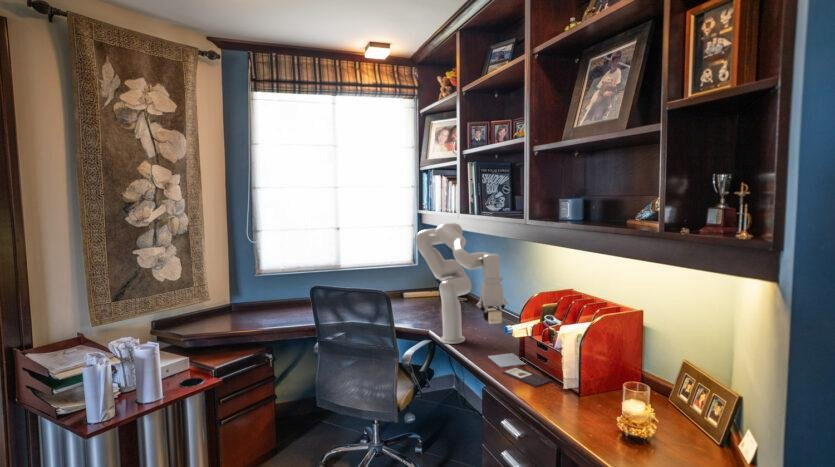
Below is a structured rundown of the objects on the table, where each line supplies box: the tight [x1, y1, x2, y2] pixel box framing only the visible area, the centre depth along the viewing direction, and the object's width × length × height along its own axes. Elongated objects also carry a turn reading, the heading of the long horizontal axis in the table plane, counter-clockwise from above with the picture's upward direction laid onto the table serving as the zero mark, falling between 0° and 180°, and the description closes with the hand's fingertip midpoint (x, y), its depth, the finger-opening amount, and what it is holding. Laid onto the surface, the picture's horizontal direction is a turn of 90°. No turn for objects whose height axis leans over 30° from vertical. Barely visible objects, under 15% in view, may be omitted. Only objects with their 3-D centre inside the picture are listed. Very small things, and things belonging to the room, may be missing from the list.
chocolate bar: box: [501, 366, 554, 389], centre depth 177 cm, size 9×1×18 cm
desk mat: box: [487, 352, 527, 368], centre depth 197 cm, size 14×12×1 cm
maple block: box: [485, 307, 503, 325], centre depth 208 cm, size 8×6×5 cm
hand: (492, 319), depth 208 cm, fingers closed on maple block, 5 cm apart
